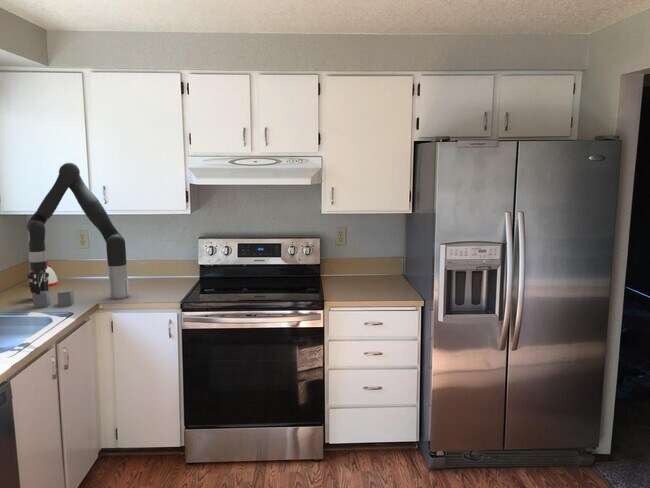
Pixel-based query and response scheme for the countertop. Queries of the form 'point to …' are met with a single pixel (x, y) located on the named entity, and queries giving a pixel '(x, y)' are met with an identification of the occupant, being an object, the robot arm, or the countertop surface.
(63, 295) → the matte grey cube
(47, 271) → the kitchen timer
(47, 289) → the coffee cup
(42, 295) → the plain grey cube
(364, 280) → the countertop surface
